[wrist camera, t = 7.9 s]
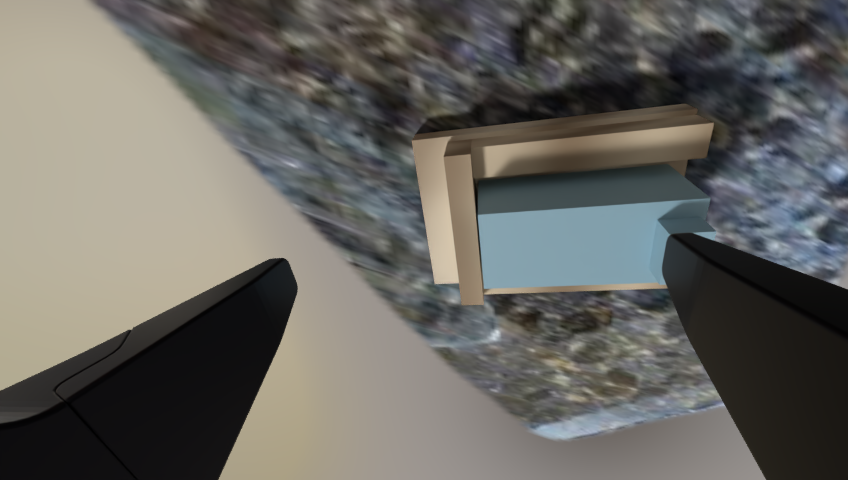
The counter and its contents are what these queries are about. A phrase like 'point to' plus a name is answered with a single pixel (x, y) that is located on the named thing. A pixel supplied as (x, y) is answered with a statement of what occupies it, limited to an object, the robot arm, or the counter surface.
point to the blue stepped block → (585, 226)
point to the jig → (537, 155)
